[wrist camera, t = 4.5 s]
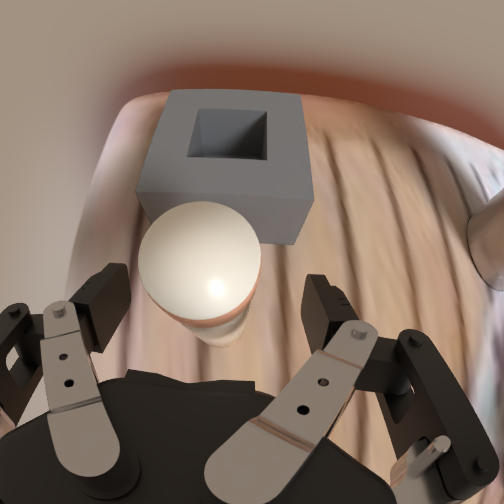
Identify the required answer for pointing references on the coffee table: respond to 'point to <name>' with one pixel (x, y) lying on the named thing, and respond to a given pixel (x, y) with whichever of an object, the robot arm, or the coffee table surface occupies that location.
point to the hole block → (232, 159)
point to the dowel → (202, 269)
